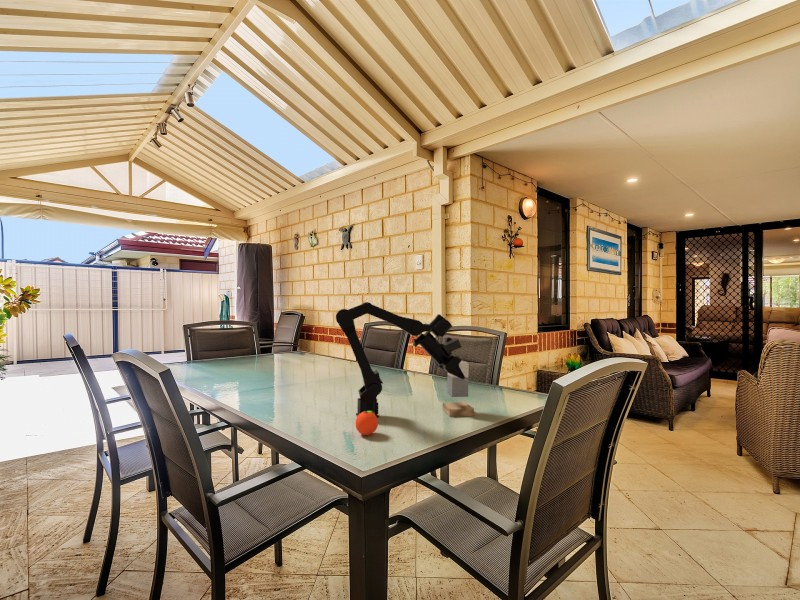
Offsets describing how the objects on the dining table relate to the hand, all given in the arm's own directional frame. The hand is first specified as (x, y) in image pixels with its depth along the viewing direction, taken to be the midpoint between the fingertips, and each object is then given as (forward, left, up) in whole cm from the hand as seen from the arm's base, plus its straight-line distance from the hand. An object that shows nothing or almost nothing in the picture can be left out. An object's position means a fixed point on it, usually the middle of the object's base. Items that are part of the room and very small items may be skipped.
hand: (461, 376), depth 143 cm
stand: (-1, 0, -13) cm, 13 cm away
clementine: (-39, -8, -13) cm, 42 cm away
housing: (-1, 0, -7) cm, 7 cm away
